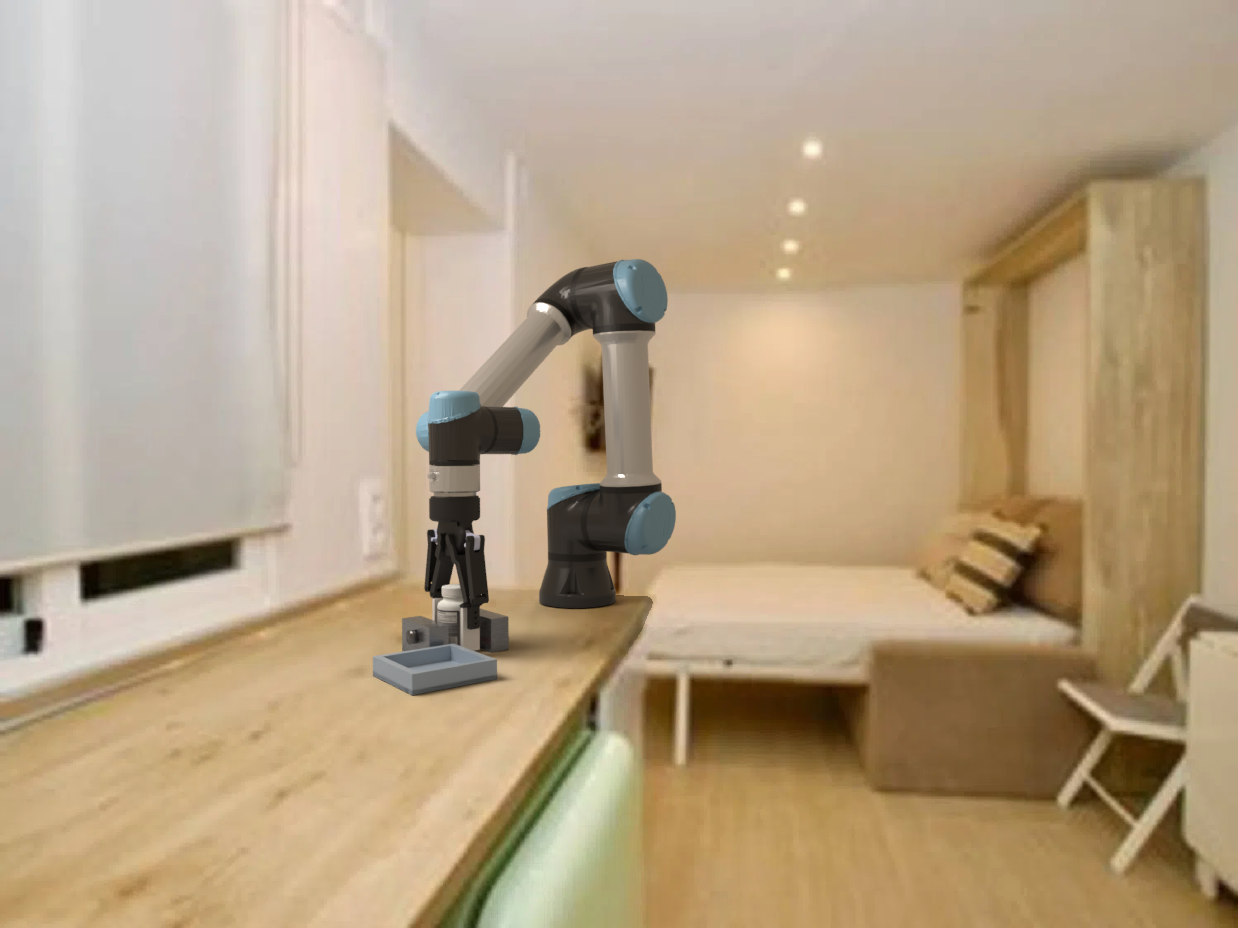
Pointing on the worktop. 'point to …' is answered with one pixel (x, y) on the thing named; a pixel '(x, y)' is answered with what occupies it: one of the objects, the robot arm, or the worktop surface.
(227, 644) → the worktop surface
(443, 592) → the pill bottle
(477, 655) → the tray
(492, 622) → the grey twin blocks
